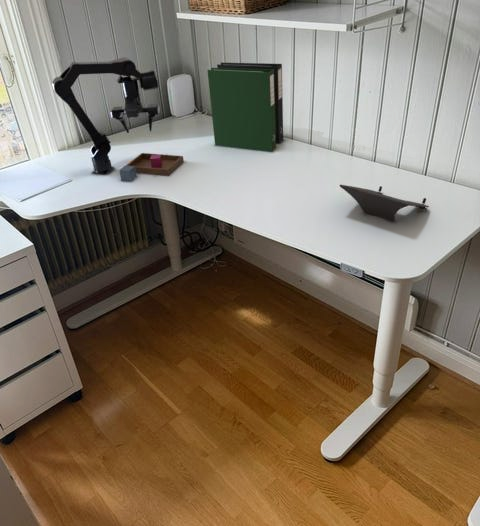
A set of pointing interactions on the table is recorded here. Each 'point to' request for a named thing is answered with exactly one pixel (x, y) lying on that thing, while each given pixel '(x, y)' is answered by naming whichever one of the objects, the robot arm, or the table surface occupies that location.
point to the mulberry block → (156, 161)
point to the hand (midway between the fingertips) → (139, 131)
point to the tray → (167, 168)
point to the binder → (247, 105)
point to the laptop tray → (379, 202)
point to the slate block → (128, 173)
